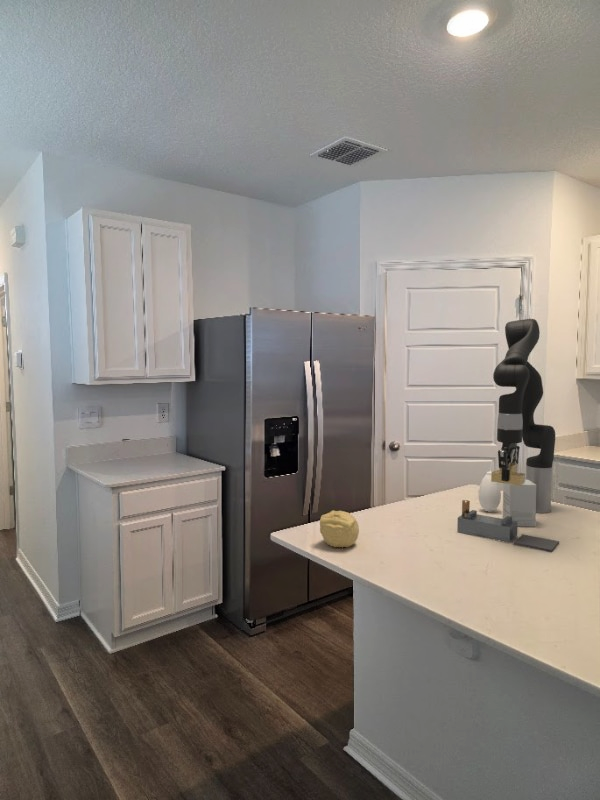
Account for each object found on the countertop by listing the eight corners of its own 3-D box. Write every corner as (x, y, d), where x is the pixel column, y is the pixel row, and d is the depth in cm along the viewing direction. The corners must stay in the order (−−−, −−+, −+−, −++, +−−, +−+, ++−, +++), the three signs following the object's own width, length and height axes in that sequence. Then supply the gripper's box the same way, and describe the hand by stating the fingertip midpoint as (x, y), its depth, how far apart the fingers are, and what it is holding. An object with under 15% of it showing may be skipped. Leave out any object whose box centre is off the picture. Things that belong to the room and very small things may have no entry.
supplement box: (527, 519, 192) (528, 479, 191) (535, 527, 184) (537, 484, 182) (501, 518, 193) (502, 478, 192) (508, 526, 184) (510, 483, 183)
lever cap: (496, 478, 175) (497, 461, 175) (524, 482, 169) (525, 464, 169) (491, 481, 171) (491, 463, 171) (519, 485, 166) (520, 466, 165)
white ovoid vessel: (474, 509, 205) (475, 463, 204) (491, 508, 208) (492, 462, 206) (487, 515, 198) (488, 467, 197) (504, 513, 200) (505, 466, 199)
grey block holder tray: (466, 526, 184) (466, 498, 183) (516, 536, 173) (517, 506, 173) (457, 532, 178) (458, 502, 177) (509, 542, 167) (510, 511, 166)
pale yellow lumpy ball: (315, 547, 162) (315, 513, 161) (330, 536, 173) (330, 503, 172) (350, 553, 157) (350, 518, 156) (363, 541, 168) (364, 508, 167)
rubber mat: (522, 536, 173) (522, 534, 173) (559, 543, 166) (559, 541, 166) (513, 544, 165) (513, 542, 165) (551, 552, 159) (551, 549, 159)
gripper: (505, 424, 177) (503, 474, 178) (490, 428, 166) (488, 481, 167) (528, 426, 172) (527, 477, 173) (514, 430, 161) (512, 485, 162)
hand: (508, 479), depth 170 cm, fingers closed on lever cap, 5 cm apart
